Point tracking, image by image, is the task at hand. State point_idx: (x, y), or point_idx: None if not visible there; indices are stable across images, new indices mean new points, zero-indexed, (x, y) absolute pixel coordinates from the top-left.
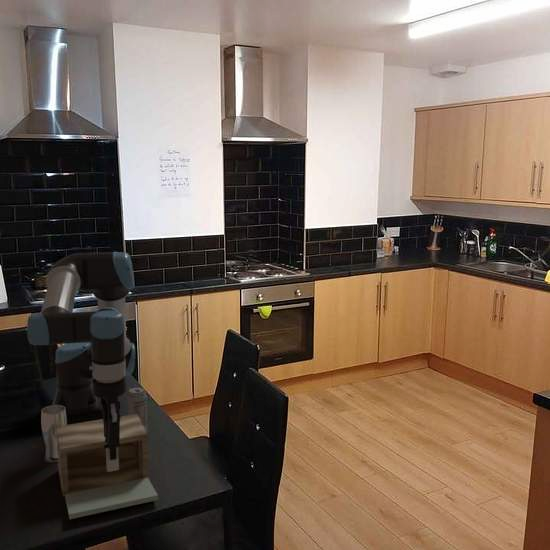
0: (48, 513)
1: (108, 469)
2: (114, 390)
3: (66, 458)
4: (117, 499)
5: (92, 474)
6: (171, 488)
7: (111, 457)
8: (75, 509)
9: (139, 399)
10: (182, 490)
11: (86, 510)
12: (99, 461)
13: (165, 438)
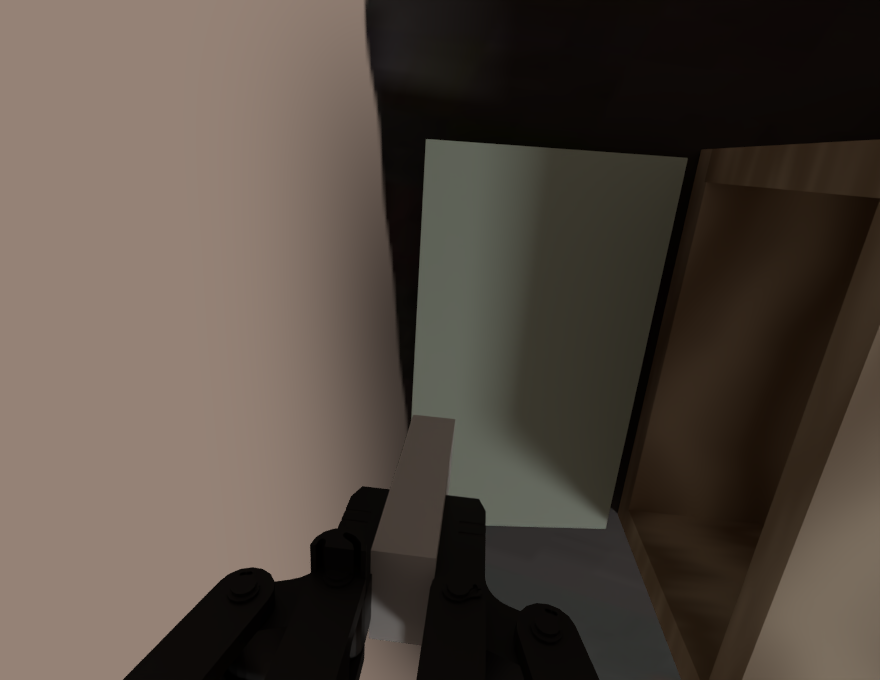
0: (615, 58)
1: (409, 429)
2: None
3: (846, 190)
4: (459, 377)
5: (817, 329)
6: (522, 562)
7: (346, 510)
8: (466, 179)
9: None
10: (488, 586)
11: (423, 228)
12: None
13: None
